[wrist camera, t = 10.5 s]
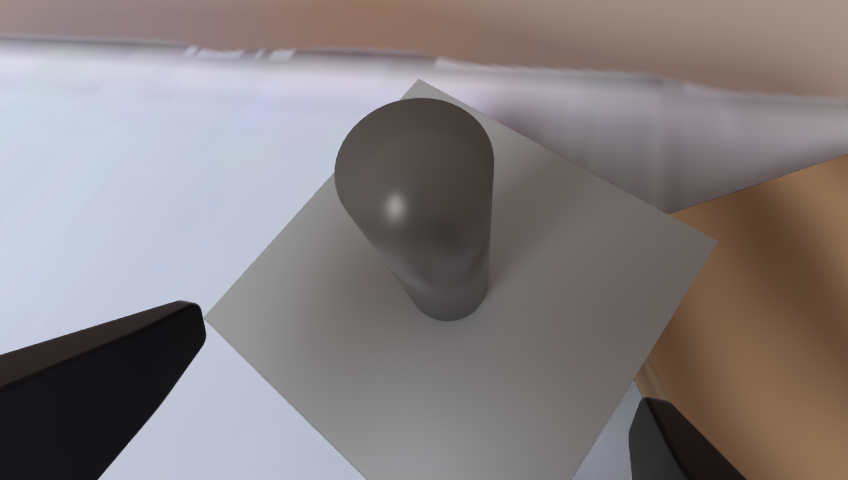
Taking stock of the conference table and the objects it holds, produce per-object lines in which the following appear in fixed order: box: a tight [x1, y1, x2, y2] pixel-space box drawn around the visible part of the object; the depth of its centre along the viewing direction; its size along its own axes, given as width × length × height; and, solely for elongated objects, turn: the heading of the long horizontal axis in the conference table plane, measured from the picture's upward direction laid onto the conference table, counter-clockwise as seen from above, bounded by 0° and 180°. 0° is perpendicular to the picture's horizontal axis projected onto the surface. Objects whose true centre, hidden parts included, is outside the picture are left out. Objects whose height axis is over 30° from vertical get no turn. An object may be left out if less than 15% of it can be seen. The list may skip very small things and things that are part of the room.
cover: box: [204, 79, 718, 480], centre depth 11 cm, size 13×13×9 cm
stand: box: [634, 154, 848, 480], centre depth 18 cm, size 14×14×3 cm
